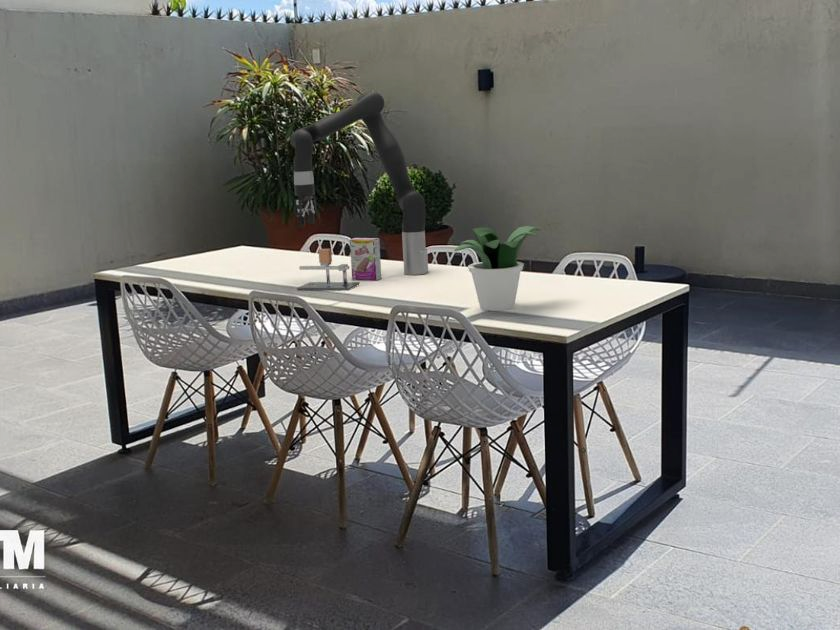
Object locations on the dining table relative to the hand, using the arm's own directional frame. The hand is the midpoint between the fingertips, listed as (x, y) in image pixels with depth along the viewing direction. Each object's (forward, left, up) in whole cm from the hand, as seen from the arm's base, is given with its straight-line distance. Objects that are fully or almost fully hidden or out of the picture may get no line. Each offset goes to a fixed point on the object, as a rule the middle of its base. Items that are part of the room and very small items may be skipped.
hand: (306, 225), depth 380 cm
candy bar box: (-19, -13, -24) cm, 33 cm away
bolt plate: (-10, +5, -24) cm, 26 cm away
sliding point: (-10, +6, -22) cm, 25 cm away
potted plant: (-85, +37, -24) cm, 95 cm away
